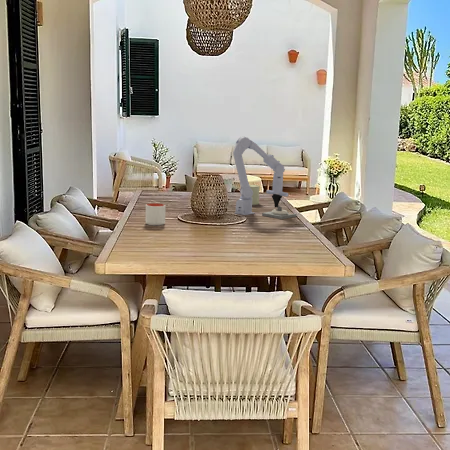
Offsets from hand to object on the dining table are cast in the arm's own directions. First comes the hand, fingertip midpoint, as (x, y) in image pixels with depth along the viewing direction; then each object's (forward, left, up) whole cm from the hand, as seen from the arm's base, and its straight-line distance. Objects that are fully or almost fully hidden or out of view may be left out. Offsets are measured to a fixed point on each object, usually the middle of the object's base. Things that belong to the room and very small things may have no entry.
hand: (276, 207), depth 354 cm
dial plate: (-4, -5, -4) cm, 7 cm away
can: (+18, +34, -4) cm, 39 cm away
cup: (-77, +19, -4) cm, 79 cm away
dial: (-3, -5, -2) cm, 6 cm away
